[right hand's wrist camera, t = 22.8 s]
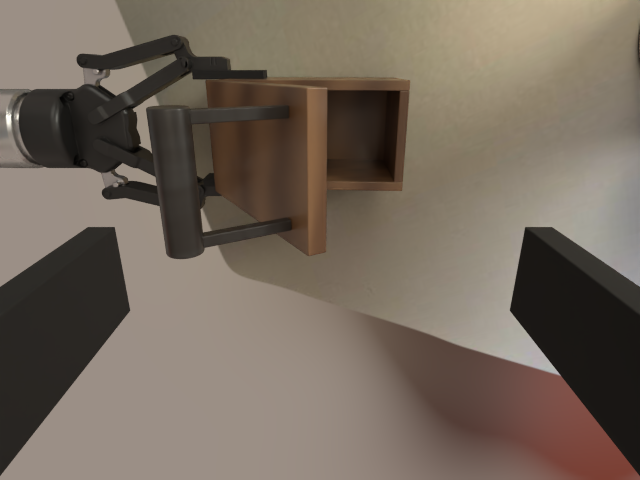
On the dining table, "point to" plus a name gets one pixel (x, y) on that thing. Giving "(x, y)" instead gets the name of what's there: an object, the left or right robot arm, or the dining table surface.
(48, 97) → the left robot arm
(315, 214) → the lid
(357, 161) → the chest
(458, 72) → the dining table surface
